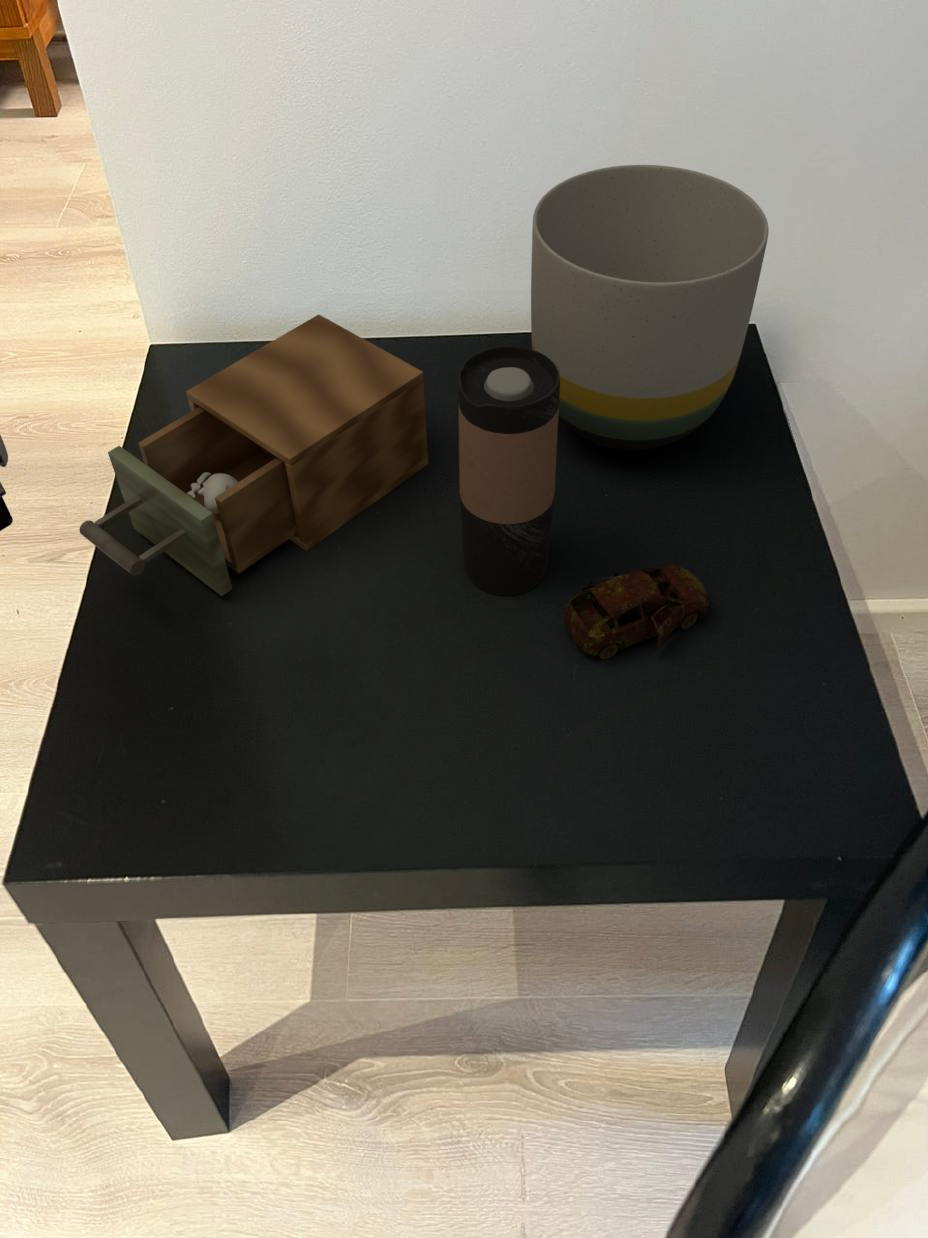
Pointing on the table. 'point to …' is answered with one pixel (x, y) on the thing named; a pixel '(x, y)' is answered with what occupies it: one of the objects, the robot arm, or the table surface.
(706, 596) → the toy car
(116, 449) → the drawer
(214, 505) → the rabbit figurine
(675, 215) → the planter
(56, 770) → the table surface
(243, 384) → the cabinet
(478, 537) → the travel mug
